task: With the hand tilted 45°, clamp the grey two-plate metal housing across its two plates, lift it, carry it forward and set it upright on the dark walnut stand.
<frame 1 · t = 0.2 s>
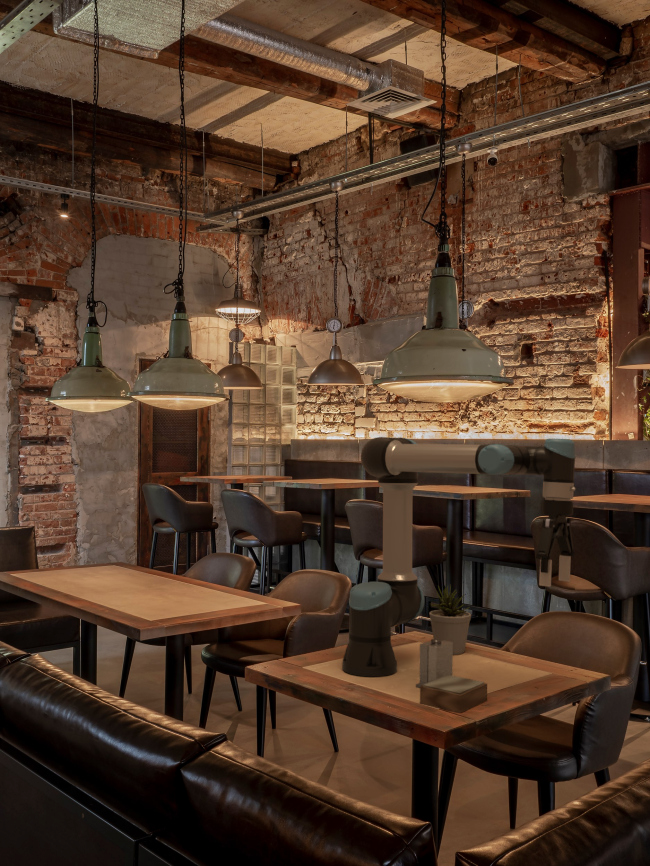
hand: (554, 583, 202), 28 cm above the table, fingers open, 13 cm apart
potted plant: (451, 652, 243), on the table
housing: (436, 685, 206), on the table
stand: (453, 701, 193), on the table
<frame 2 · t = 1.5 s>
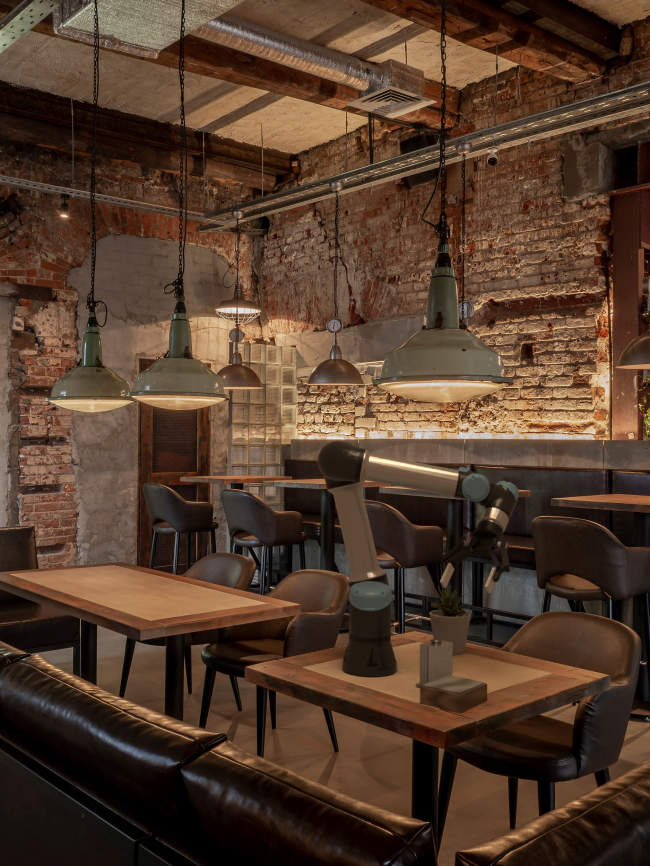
hand: (464, 587, 214), 24 cm above the table, fingers open, 13 cm apart
nothing on the table moved.
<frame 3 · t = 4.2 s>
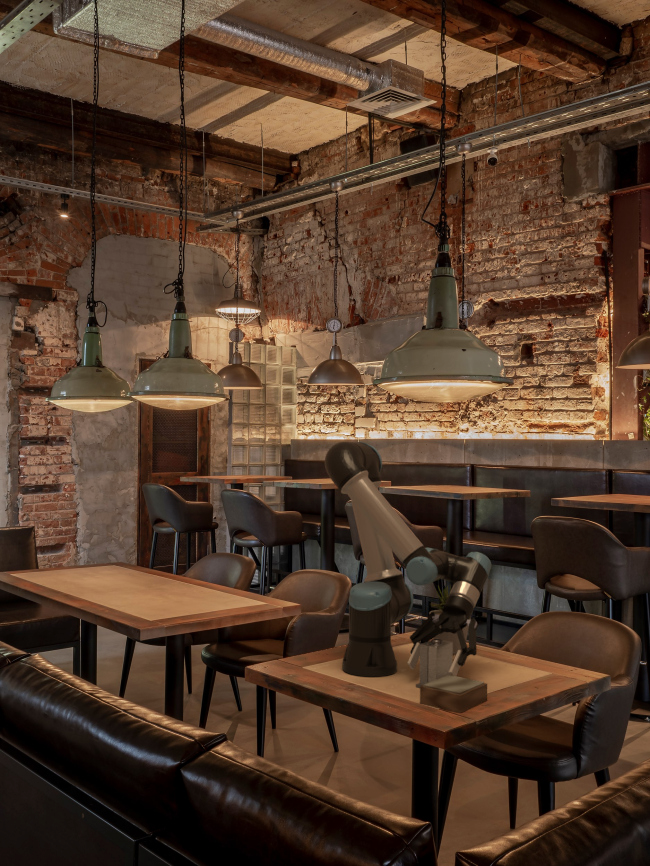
hand: (430, 670, 204), 4 cm above the table, fingers open, 12 cm apart
nothing on the table moved.
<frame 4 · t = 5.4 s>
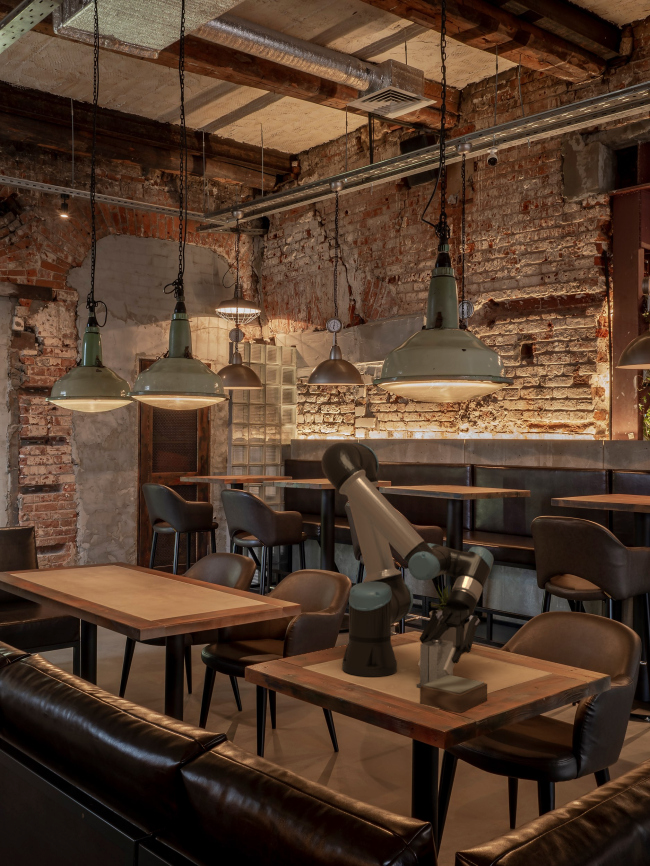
hand: (433, 670, 203), 5 cm above the table, fingers open, 7 cm apart
housing: (436, 685, 206), on the table, touching gripper
everything else where it was.
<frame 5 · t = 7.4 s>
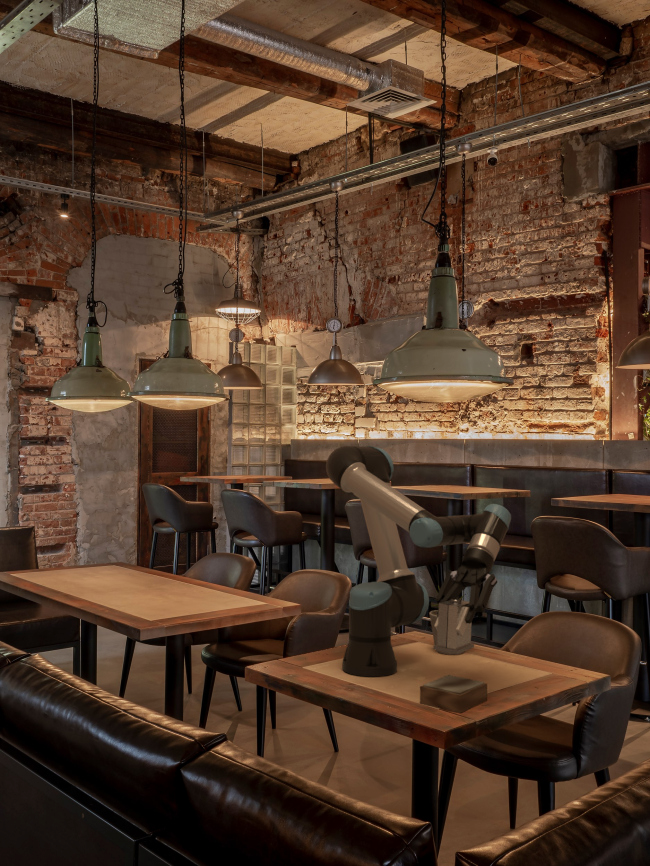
hand: (448, 630, 191), 18 cm above the table, fingers closed on housing, 5 cm apart
housing: (453, 648, 193), point 13 cm above the table, touching gripper
everything else where it was.
when the fingers open (9 cm above the table, at t = 9.3 s): housing stays where it is, resting on stand.
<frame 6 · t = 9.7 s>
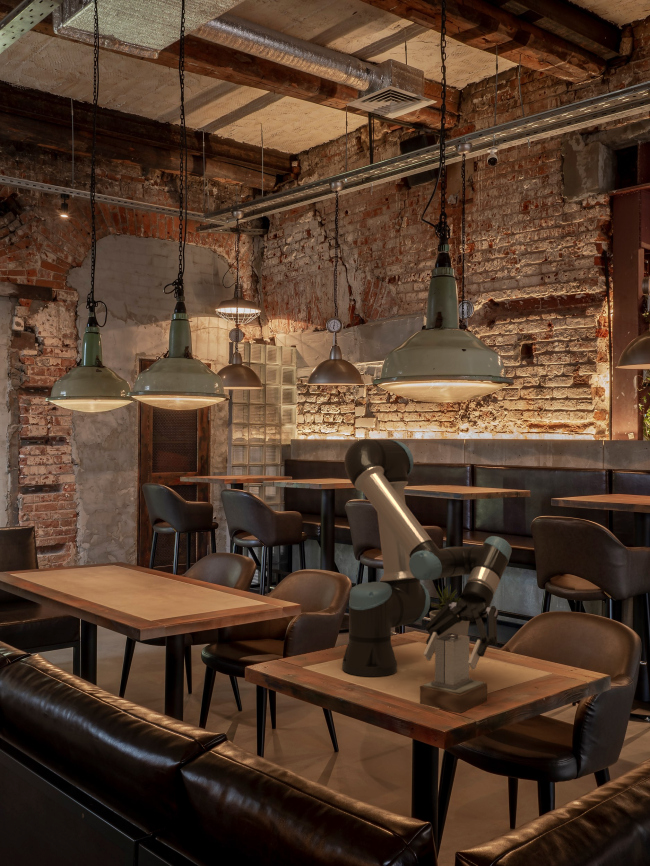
hand: (448, 661, 191), 10 cm above the table, fingers open, 11 cm apart
housing: (452, 683, 193), point 4 cm above the table, touching stand
everything else where it was.
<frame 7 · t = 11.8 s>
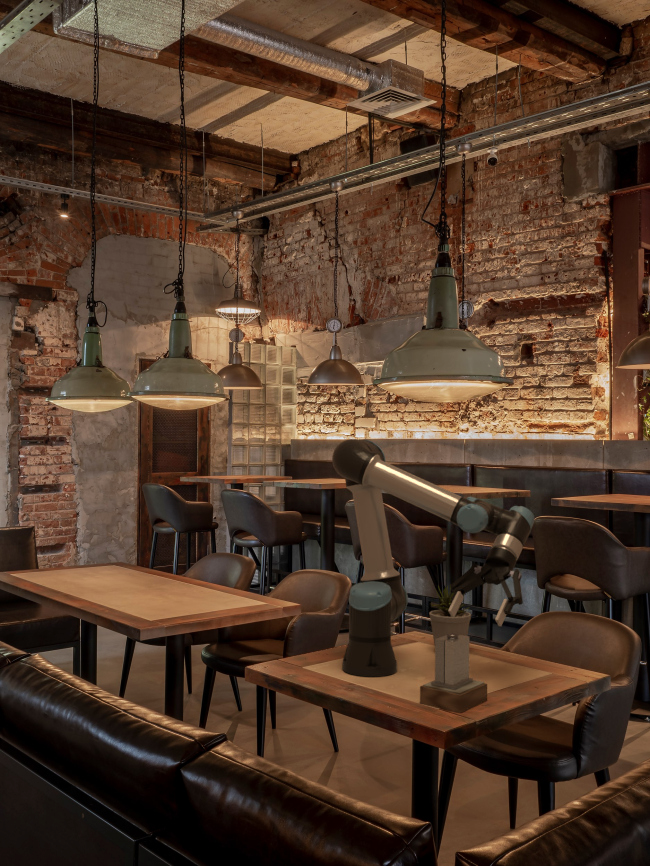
hand: (474, 618, 204), 18 cm above the table, fingers open, 13 cm apart
nothing on the table moved.
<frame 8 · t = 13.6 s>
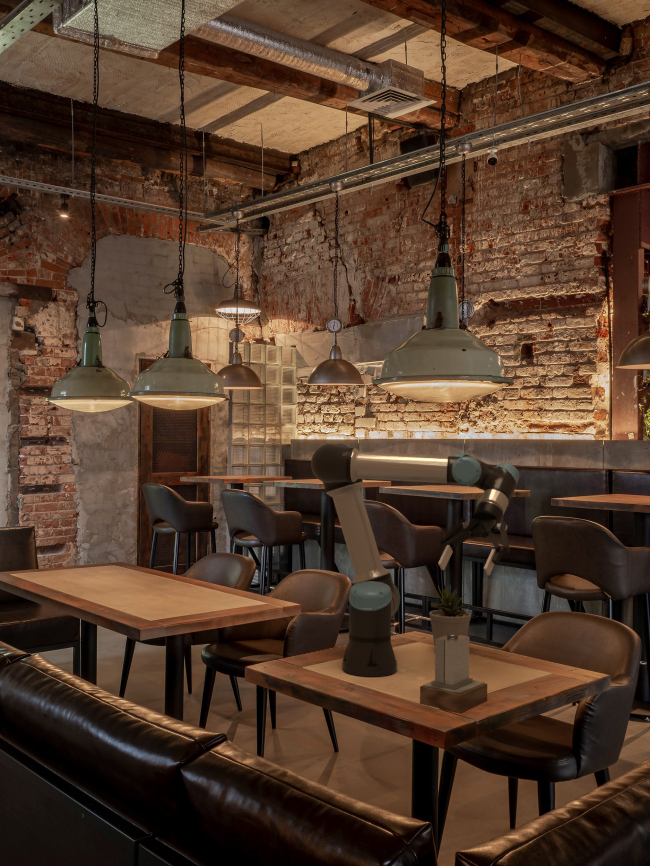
hand: (463, 569, 210), 30 cm above the table, fingers open, 13 cm apart
nothing on the table moved.
at the end: housing inside the target area on the stand (0.5 cm from its centre), point 4.4 cm above the stand's base; housing tilted 0°; the gripper is holding nothing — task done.
